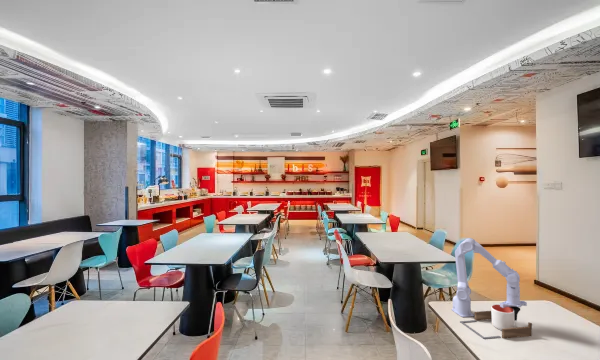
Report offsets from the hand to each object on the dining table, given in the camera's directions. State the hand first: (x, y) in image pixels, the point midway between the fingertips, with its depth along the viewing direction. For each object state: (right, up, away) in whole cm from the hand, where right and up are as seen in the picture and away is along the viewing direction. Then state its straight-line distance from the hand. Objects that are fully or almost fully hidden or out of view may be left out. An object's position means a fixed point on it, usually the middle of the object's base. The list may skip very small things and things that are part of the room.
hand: (513, 319), depth 153 cm
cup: (-6, -4, -1) cm, 7 cm away
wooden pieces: (-7, -4, -1) cm, 8 cm away
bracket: (-20, -4, -3) cm, 21 cm away
